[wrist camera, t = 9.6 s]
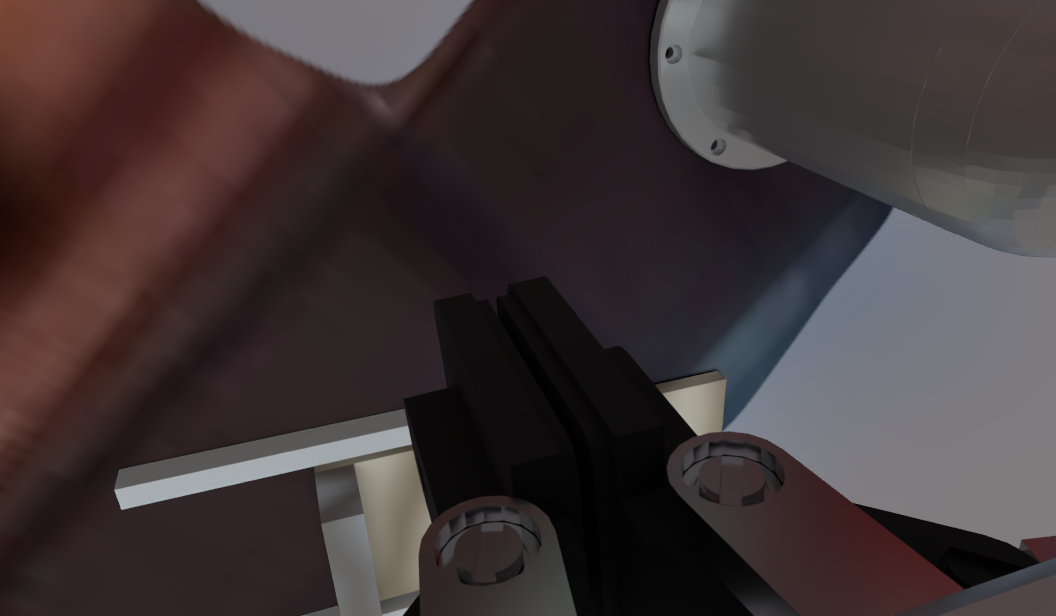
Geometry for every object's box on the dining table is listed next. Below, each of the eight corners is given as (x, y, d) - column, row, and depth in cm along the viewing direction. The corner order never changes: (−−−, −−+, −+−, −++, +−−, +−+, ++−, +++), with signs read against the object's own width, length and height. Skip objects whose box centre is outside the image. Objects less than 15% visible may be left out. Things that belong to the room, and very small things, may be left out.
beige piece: (717, 370, 47) (764, 415, 43) (706, 498, 52) (748, 550, 47) (313, 461, 41) (321, 524, 37) (341, 598, 45) (351, 667, 41)
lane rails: (611, 364, 45) (623, 378, 43) (609, 545, 51) (619, 562, 50) (119, 469, 38) (114, 489, 36) (187, 662, 44) (185, 686, 43)
